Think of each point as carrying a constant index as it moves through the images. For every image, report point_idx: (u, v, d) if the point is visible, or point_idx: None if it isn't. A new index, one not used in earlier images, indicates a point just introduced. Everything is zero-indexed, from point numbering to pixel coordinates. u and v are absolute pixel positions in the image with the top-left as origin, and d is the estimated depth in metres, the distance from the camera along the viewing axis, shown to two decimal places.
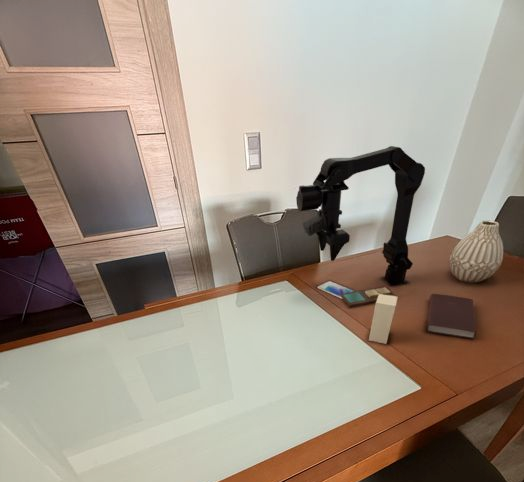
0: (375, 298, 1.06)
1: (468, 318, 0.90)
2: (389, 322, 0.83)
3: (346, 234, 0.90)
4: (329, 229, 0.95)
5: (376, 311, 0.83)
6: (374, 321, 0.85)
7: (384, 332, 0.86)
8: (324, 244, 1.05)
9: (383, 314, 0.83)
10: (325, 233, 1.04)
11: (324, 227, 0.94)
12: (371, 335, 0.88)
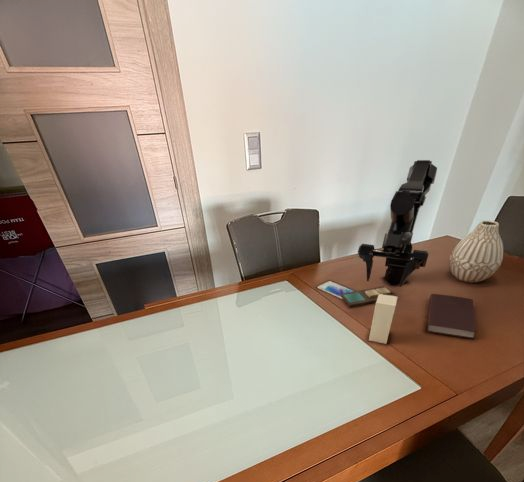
0: (375, 298, 1.06)
1: (468, 318, 0.89)
2: (389, 322, 0.83)
3: None
4: (402, 251, 0.86)
5: (376, 311, 0.83)
6: (374, 321, 0.85)
7: (384, 332, 0.86)
8: (370, 274, 0.91)
9: (383, 314, 0.83)
10: (372, 263, 0.91)
11: (404, 245, 0.84)
12: (371, 335, 0.88)
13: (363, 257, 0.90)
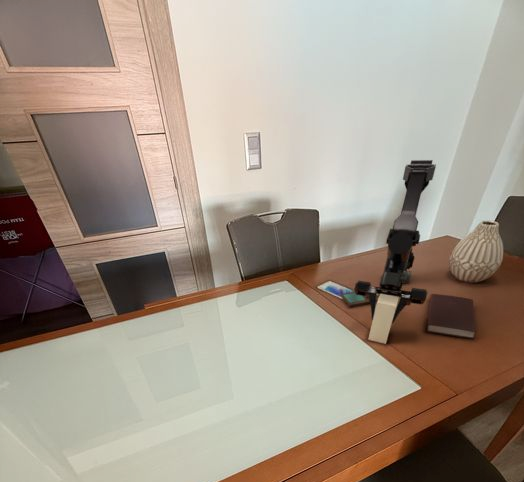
0: None
1: (468, 318, 0.89)
2: (389, 322, 0.83)
3: None
4: (400, 289, 0.84)
5: (377, 311, 0.83)
6: (374, 320, 0.85)
7: (384, 331, 0.86)
8: None
9: (383, 314, 0.83)
10: None
11: (402, 283, 0.82)
12: (371, 335, 0.88)
13: (367, 295, 0.87)
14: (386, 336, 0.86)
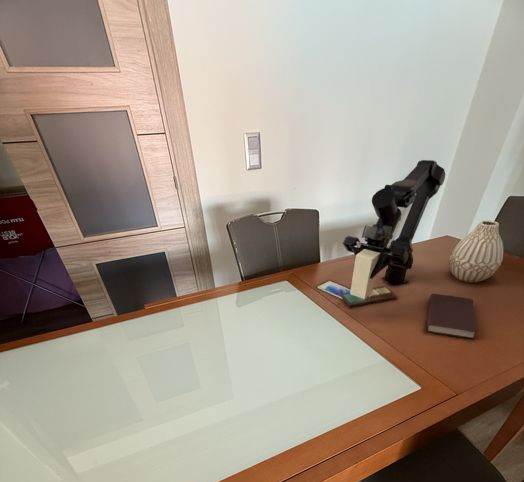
0: (375, 298, 1.06)
1: (468, 318, 0.89)
2: (367, 276, 0.88)
3: (407, 254, 0.86)
4: (384, 246, 0.87)
5: (356, 264, 0.88)
6: (354, 274, 0.91)
7: (362, 286, 0.91)
8: None
9: (361, 267, 0.88)
10: None
11: (385, 240, 0.86)
12: (352, 289, 0.94)
13: (353, 250, 0.92)
14: (364, 291, 0.91)
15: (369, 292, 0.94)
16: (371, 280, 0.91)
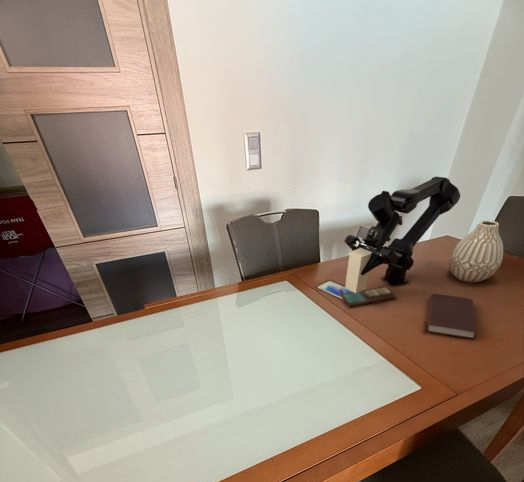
0: (375, 298, 1.06)
1: (468, 318, 0.89)
2: (357, 272, 0.98)
3: (398, 256, 0.93)
4: (378, 246, 0.96)
5: (350, 260, 0.98)
6: (348, 269, 1.00)
7: (354, 281, 1.00)
8: None
9: (353, 264, 0.97)
10: None
11: (378, 241, 0.94)
12: (346, 283, 1.04)
13: None
14: (356, 286, 1.01)
15: (362, 288, 1.03)
16: (363, 277, 1.00)
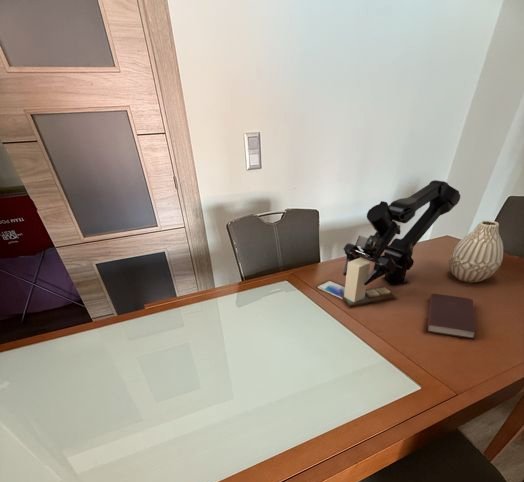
0: (375, 298, 1.06)
1: (468, 318, 0.89)
2: (355, 282, 1.00)
3: (396, 265, 0.95)
4: (376, 255, 0.98)
5: (348, 270, 1.01)
6: (347, 279, 1.03)
7: (353, 290, 1.03)
8: None
9: (352, 273, 1.00)
10: None
11: (376, 250, 0.96)
12: (345, 292, 1.06)
13: None
14: (354, 295, 1.03)
15: (361, 297, 1.05)
16: (361, 286, 1.02)
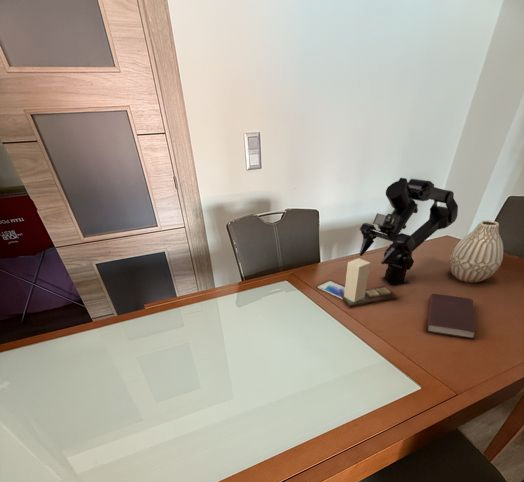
0: (375, 298, 1.06)
1: (468, 318, 0.90)
2: (355, 282, 1.00)
3: (414, 243, 0.95)
4: (394, 233, 0.97)
5: (348, 270, 1.01)
6: (347, 279, 1.03)
7: (353, 290, 1.03)
8: (364, 250, 1.04)
9: (352, 273, 1.00)
10: (370, 241, 1.04)
11: (394, 228, 0.95)
12: (345, 292, 1.06)
13: (363, 234, 1.04)
14: (354, 295, 1.03)
15: (361, 297, 1.05)
16: (361, 286, 1.02)
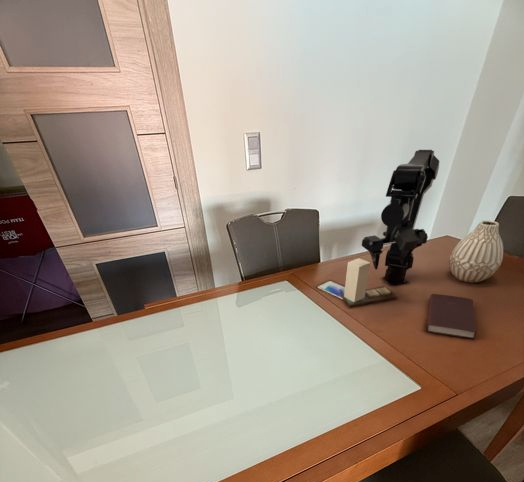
0: (375, 298, 1.06)
1: (468, 318, 0.89)
2: (355, 282, 1.00)
3: None
4: None
5: (348, 270, 1.01)
6: (347, 279, 1.03)
7: (353, 290, 1.03)
8: None
9: (352, 273, 1.00)
10: None
11: None
12: (345, 292, 1.06)
13: None
14: (354, 295, 1.03)
15: (361, 297, 1.05)
16: (361, 286, 1.02)
